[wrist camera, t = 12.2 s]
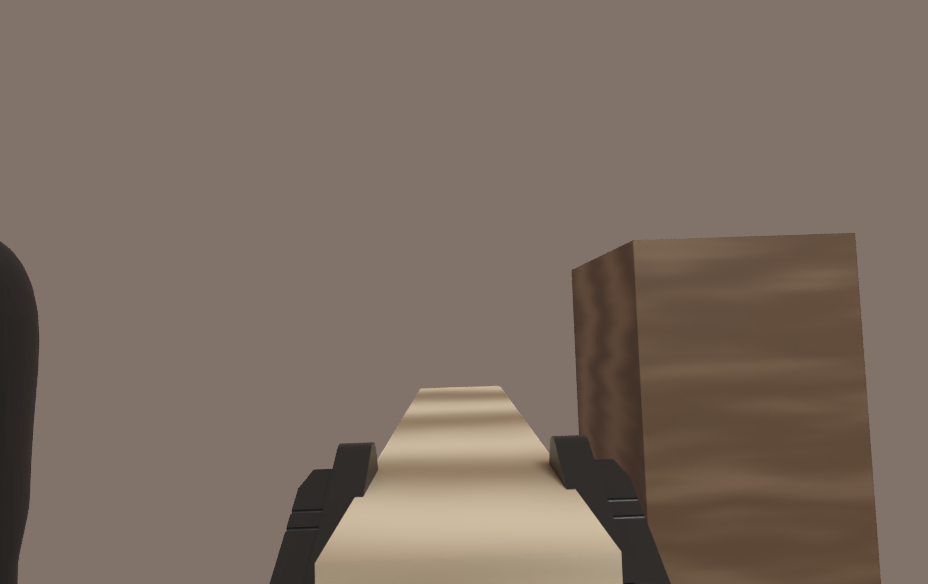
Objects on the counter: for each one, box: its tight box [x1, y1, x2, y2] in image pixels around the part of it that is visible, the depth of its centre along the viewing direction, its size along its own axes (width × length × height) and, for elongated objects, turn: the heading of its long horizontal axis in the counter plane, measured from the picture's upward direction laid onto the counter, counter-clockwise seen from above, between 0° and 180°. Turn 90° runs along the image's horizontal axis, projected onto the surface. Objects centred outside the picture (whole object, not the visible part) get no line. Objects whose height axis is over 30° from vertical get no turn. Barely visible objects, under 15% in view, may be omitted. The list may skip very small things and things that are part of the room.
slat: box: [315, 386, 623, 584], centre depth 19 cm, size 22×4×3 cm, turn 1°
